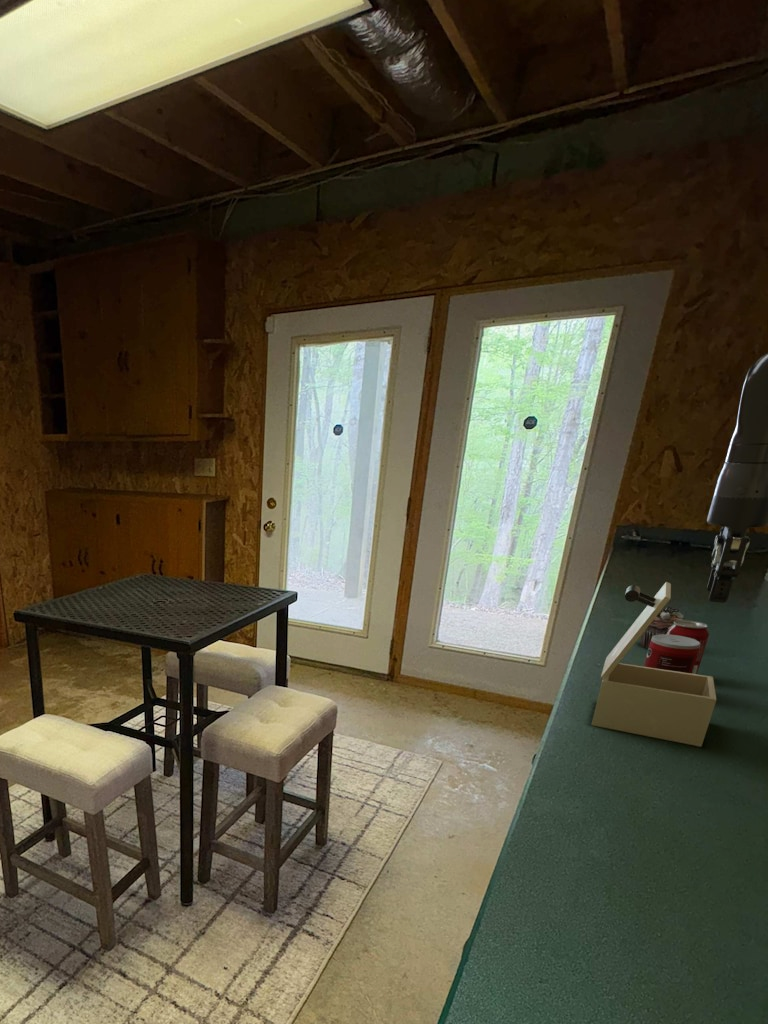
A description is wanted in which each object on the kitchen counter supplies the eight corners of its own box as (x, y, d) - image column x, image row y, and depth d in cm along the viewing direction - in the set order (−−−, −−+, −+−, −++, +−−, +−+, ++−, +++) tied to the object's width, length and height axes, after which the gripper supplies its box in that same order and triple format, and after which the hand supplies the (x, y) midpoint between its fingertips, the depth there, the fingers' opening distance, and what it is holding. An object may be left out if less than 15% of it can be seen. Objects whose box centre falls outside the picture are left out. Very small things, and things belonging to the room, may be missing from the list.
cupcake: (663, 656, 146) (675, 615, 143) (626, 644, 155) (636, 605, 152) (695, 652, 148) (708, 611, 145) (657, 640, 157) (667, 602, 154)
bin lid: (671, 583, 110) (638, 570, 112) (670, 598, 101) (635, 583, 103) (610, 660, 119) (581, 646, 121) (605, 680, 110) (574, 664, 112)
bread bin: (698, 721, 114) (712, 676, 110) (701, 747, 104) (716, 699, 101) (597, 703, 123) (607, 661, 119) (591, 726, 113) (602, 681, 110)
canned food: (660, 682, 131) (674, 632, 127) (695, 696, 124) (712, 644, 120) (628, 685, 130) (641, 635, 126) (662, 700, 123) (677, 647, 119)
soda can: (700, 684, 130) (717, 629, 126) (661, 681, 132) (676, 626, 128) (688, 673, 136) (704, 620, 131) (651, 670, 138) (665, 618, 134)
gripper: (784, 497, 89) (750, 608, 95) (773, 490, 99) (742, 590, 105) (716, 496, 93) (687, 603, 99) (712, 489, 104) (686, 586, 109)
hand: (715, 596), depth 102 cm, fingers open, 8 cm apart
